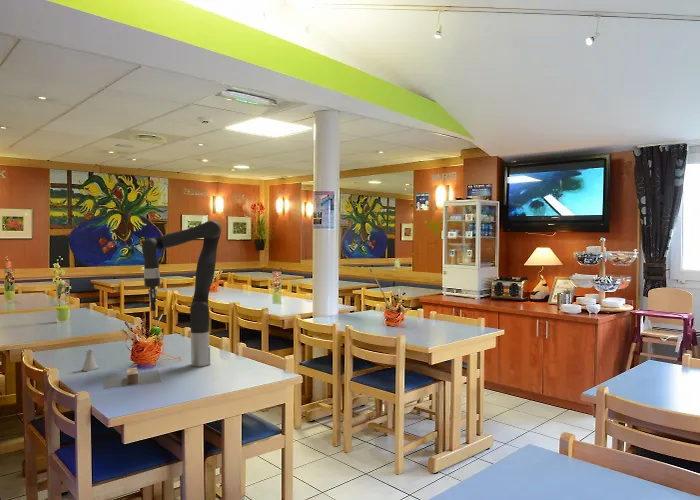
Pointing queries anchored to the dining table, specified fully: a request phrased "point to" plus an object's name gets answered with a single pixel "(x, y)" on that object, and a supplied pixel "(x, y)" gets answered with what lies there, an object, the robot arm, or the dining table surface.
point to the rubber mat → (121, 379)
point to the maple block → (132, 376)
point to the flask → (89, 362)
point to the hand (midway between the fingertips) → (153, 310)
